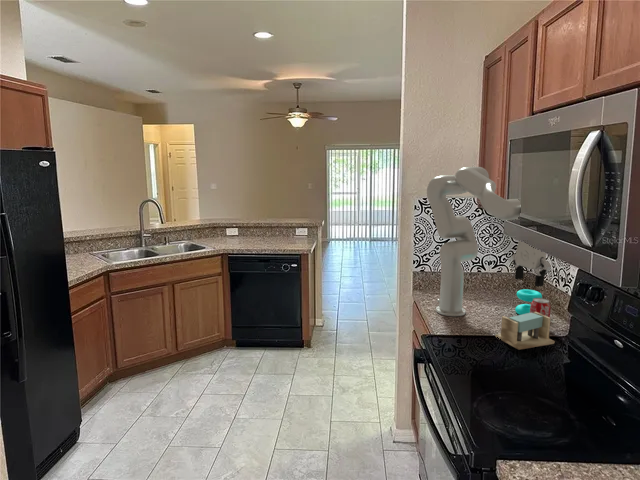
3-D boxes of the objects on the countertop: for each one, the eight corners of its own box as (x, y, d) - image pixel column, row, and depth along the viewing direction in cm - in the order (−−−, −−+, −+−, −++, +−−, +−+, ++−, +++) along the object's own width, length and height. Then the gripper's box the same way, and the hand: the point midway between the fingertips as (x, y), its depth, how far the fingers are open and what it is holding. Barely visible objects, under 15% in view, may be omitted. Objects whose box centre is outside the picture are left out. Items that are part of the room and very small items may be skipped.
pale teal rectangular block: (530, 322, 167) (531, 312, 166) (542, 326, 163) (542, 316, 162) (507, 327, 162) (508, 317, 161) (519, 332, 157) (520, 322, 157)
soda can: (551, 329, 173) (553, 300, 171) (544, 334, 169) (547, 304, 166) (532, 324, 178) (535, 296, 176) (525, 329, 174) (528, 300, 171)
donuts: (513, 291, 189) (522, 287, 195) (511, 314, 190) (520, 308, 197) (537, 297, 182) (545, 291, 188) (535, 319, 183) (543, 313, 190)
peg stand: (495, 336, 166) (497, 314, 165) (529, 331, 171) (531, 309, 169) (518, 349, 155) (520, 325, 153) (554, 343, 160) (556, 320, 158)
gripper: (507, 232, 163) (503, 277, 166) (543, 241, 147) (538, 290, 150) (523, 231, 165) (519, 275, 168) (561, 239, 149) (556, 288, 152)
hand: (528, 282), depth 159 cm, fingers open, 9 cm apart
